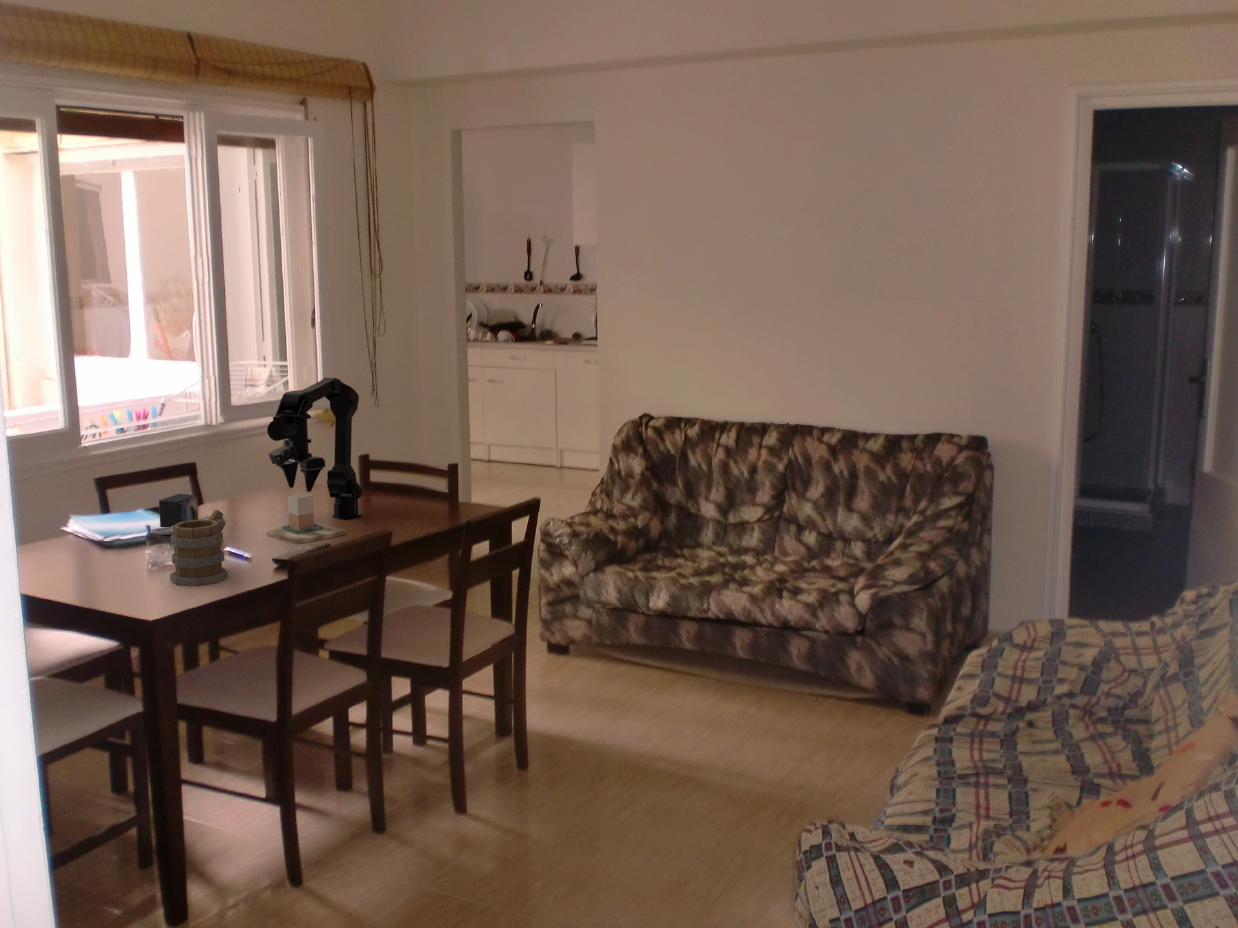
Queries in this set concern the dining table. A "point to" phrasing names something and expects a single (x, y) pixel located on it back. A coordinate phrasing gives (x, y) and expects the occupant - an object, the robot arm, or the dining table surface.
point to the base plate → (305, 533)
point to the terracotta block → (301, 521)
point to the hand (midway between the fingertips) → (300, 489)
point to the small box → (178, 509)
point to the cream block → (300, 504)
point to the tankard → (198, 552)
